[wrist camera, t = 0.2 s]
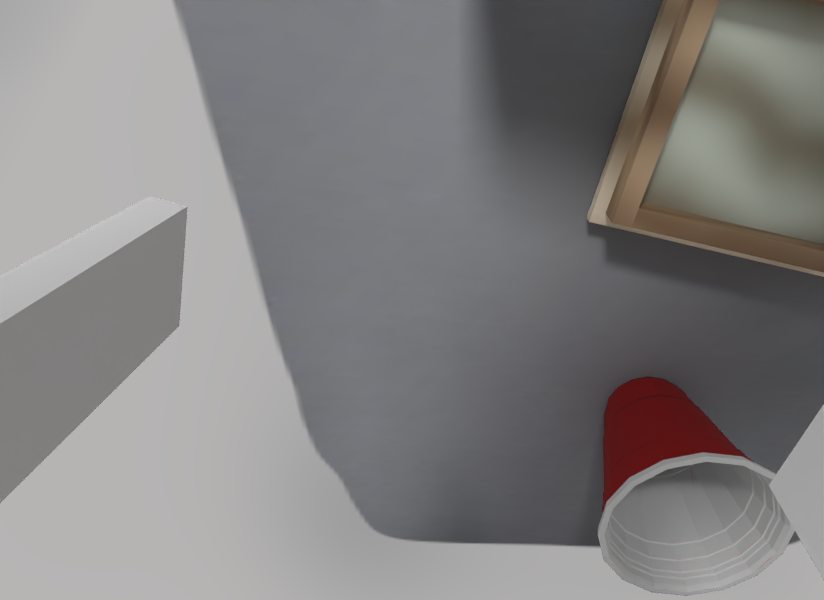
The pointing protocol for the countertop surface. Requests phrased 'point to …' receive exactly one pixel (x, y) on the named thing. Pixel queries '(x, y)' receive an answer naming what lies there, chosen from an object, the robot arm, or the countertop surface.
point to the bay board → (725, 133)
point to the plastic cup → (682, 496)
